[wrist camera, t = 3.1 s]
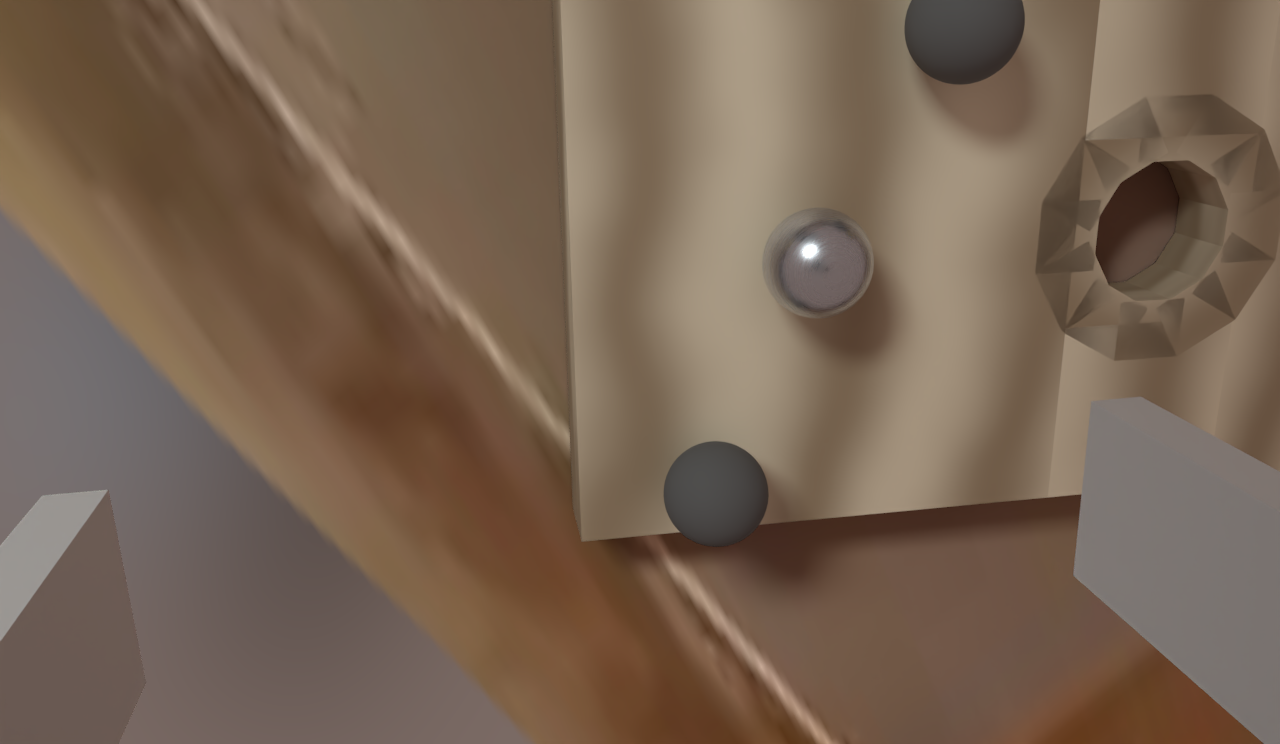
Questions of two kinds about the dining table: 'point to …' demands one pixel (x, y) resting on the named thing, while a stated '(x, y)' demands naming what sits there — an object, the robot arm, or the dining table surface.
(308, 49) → the dining table surface
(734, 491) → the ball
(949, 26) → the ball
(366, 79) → the dining table surface
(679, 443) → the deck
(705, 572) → the dining table surface
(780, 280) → the steel ball
